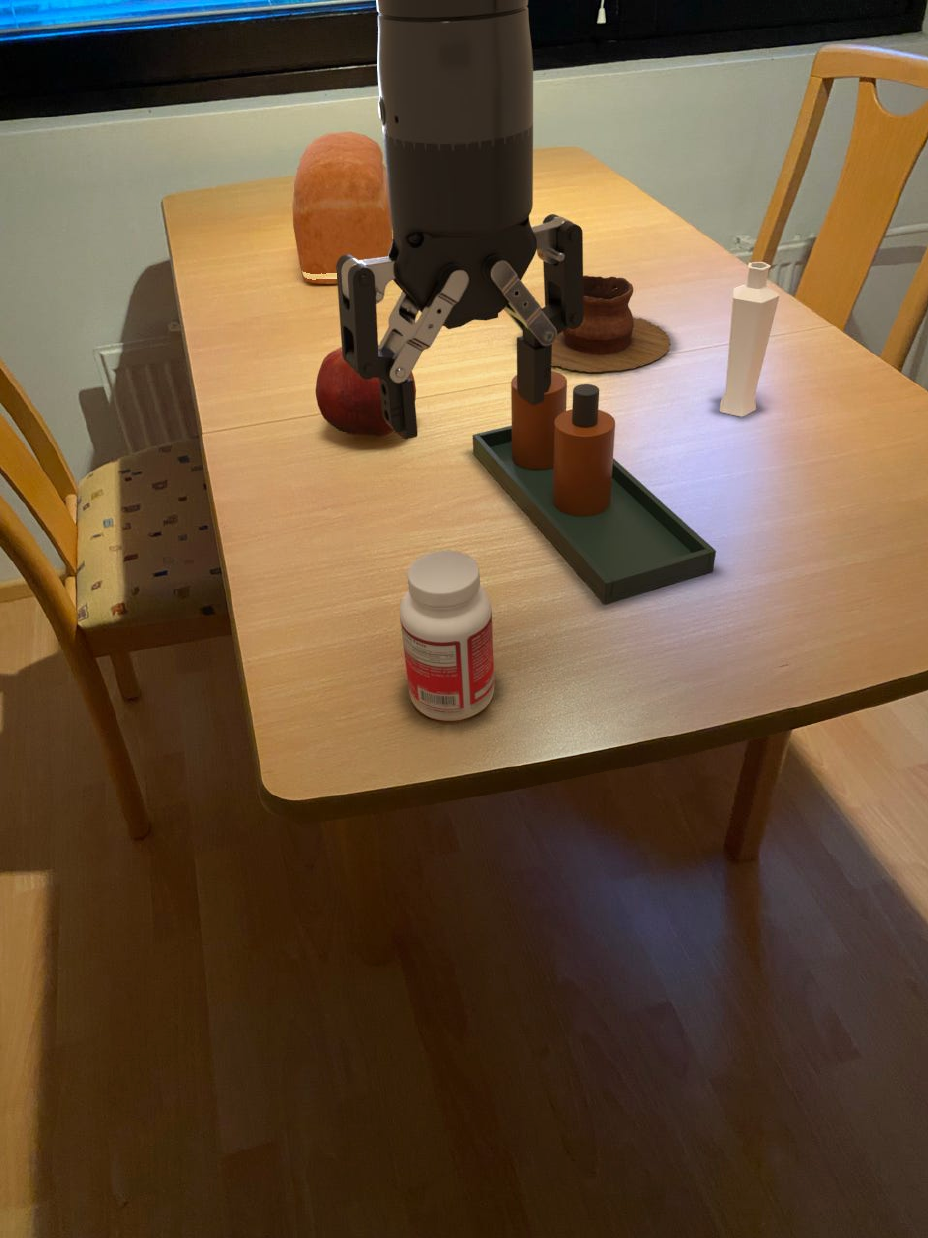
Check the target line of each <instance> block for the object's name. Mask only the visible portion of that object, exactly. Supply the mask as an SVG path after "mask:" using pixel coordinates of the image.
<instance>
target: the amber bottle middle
mask: <svg viewBox="0 0 928 1238" xmlns="http://www.w3.org/2000/svg"><path fill="white" fill-rule="evenodd" d="M599 405H600V388H599V387H598V386H597V385H595V384H592V383H581V384H577V385H575V386H574V387H573V388H572V406H571V407H572V409H568V410H566V411H565V412H563V413H561V414H559V415H558V416H557V417H556V419H555V424H554V473H553V503H554V505H555V507H556V508H557V509H558V510H560V511H561V512H563V513H566V514H569V515H573V516H591V515H596V514H599V513H601V512H603V511H604V510H606V509H607V508H608V506H609V504H610V496H611V481H612V465H613V458H614V451H615V450H614V449H615V436H616V435H615V434H616V419H615V418H614V417H613V416H612V415H611V414H610V413H608V412H606V411H604V410H601V409H599Z"/></svg>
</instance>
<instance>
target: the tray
mask: <svg viewBox="0 0 928 1238" xmlns="http://www.w3.org/2000/svg"><path fill="white" fill-rule="evenodd" d="M472 454H473V456H475V457H476V459H478V461H479V462H480V463H481V464H482V465H483V466H484V467H485V469H486V470H487V471H488V473H490V475H491V476H492V477H493V478H494V479H495V481H497V483H499V485H500V486H501V487H502V488H503V489H504V491H505V492H506V493H507V494H508V496H510V497H511V498H512V500H513V501H514V502H515V503H516V504H517V506H518V507H520V509H521V510H522V511H523V513H524V514H525V515H526V516H527V517H528V518H529V519H530V520H531V522H532V523H533V524H534V525H535V527H537V528H538V530H539V531H540V532H541V533H542V534H543V535H544V536H545V538H546V539H547V540H548V541H549V542H550V544H551V545H552V546H553V547H554V548H555V549H556V550H557V551H558V552H559V554H560V555H561V556H562V557H563V558H564V560H566V562H567V563H568V564H569V565H570V566H571V568H573V570H574V571H575V572H576V573H577V574H578V576H579V577H580V578H581V579H582V580H583V582H585V584H586V585H587V586H588V587H589V588H590V589H591V591H592V592H593V593H594V594H595V595H596V596H597V598H599V600H601V602H602V604H604V605H607V604H610V603H613V602H617V601H619V600H624V599H626V598H629V597H632V596H636V595H639V594H643V593H647V592H649V591H653V590H656V589H660V588H662V587H663V588H664V587H665V586H670V585H672V584H676V583H679V582H682V581H685V580H689V579H692V578H695V577H699V576H702V575H706V574H709V573H712V572H714V568H715V561H716V554H717V550H716V549H715V548H714V547H713V546H711V545H710V544H709V542H707V541H706V540H705V539H704V538H702V536H700V535H699V534H698V533H697V531H695V530H694V529H693V528H692V527H690V526H689V525H688V524H687V523H686V522H685V521H683V519H682V518H681V517H679V516H678V515H677V514H676V513H675V512H674V511H673V510H672V509H671V508H670V507H668V506H667V505H666V504H665V503H664V502H663V501H661V499H659V498H658V496H656V495H655V494H654V493H653V492H652V491H650V490H649V489H648V488H647V487H646V486H645V485H643V483H642V482H641V481H640V480H638V479H637V478H636V477H635V476H634V475H633V474H632V473H631V472H629V470H627V468H625V467H624V466H623V465H622V464H620V463H619V462H618V461H617V460H616V459H615V458H614V457H613V465H612V481H611V496H610V504H609V506H608V508H607V509H606V510H604V511H603V512H601V513H599V514H596V515H591V516H573V515H569V514H566V513H563V512H561V511H560V510H558V509H557V508H556V507H555V505H554V503H553V473H554V468H551V469H546V470H530V469H526V468H523V467H520V466H518V465H517V464H516V463H515V462H514V461H513V459H512V425H509V426H504V427H499V428H494V429H491V430H487V431H483V432H478V433H475V434H472Z"/></svg>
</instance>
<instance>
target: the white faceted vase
mask: <svg viewBox="0 0 928 1238" xmlns="http://www.w3.org/2000/svg"><path fill="white" fill-rule="evenodd" d="M747 267H748V273H747V281H746V283H743V284H742V285H741V284H740V285H739V286H736V287H734V288H733V292H732V303H731V314H730V315H731V317H730V328H729V339H728V340H729V341H728V353H727V364H726V376H725V377H726V379H725V389H724V393H723V395H722V398H721V401H720V404H719V412H720V413H722V414H727V415H732V416H736V417H740V418H741V417H742V418H743V417H746V416H747V415H749V414H751V413H753V412H754V411H756V410H757V406H756V405H757V404H756V403H757V402H756V392H757V388H758V383H759V379H760V376H761V372H762V368H763V365H764V364H763V363H764V360H765V357H766V352H767V348H768V344H769V340H770V336H771V332H772V328H773V325H774V320H775V316H776V312H777V309H778V304H779V301H780V296H781V294H779V293H778V292H777V291H775V290H774V289H772V288H770V287H769V286H767V283H768V276H769V270H770V269H771V267H772V265H771V264H769V263H766V262H764V261H753V262H752V261H751V262H748V265H747Z"/></svg>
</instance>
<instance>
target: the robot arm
mask: <svg viewBox="0 0 928 1238" xmlns="http://www.w3.org/2000/svg"><path fill="white" fill-rule="evenodd" d="M528 5H529V0H376V11H377V12H378V15H377V27H378V28H377V29H378V31H377V33H378V34H377V67H376V68H377V83H378V84H377V85H378V94H379V96H378V102H377V111H378V117H379V120H380V123H381V129H382V131H381V132H382V141H383V142H382V143H383V153H384V166H385V167H386V176H387V188H388V199H389V210H390V219H391V225H392V245H391V248H390V251H389V254H388V256H387V257H381V258H374V259H367V260H358V259H356V258H355V257H354V256H352V255H348V254H347V255H343V256H342V257H340V258H339V260H338V261H337V265H336V270H337V284H336V285H337V296H338V297H337V298H338V311H339V326H340V340H341V347H342V355H343V359H344V360H345V362H346V363H347V364H349V365H350V366H351V367H352V368H353V369H354V370H355V371H356V372H357V373H358V374H359V375H360V376H361V377H362V378H363V379H366V380H369V379H372V378H378V379H379V387H380V397H381V406H382V416H383V418H384V420H385V421H386V423H387V424H388V425H389V426H390V427H391V428H392V429H393V430H394V431H393V432H395V434H398V435H399V436H400V437H401V438H402V439H403V440H405V441H407V440H411V439H414V438H417V437H418V422H417V409H416V399H415V396H414V384H413V380H412V379H411V378H410V377H409V375H410V373H411V372H412V373H413V370H414V368H415V366H416V365H417V363H418V361H419V359H420V357H421V355H422V354H423V352H424V351H426V350H428V349H430V348H431V347H432V346H433V344H434V342H435V340H436V338H437V336H438V334H439V333H440V331H441V329H442V327H445V328H446V329H448V330H452V329H456V328H461V327H463V326H465V325H467V324H468V323H470V322H472V321H491V320H495V319H499V313H501V312H503V311H504V312H505V313H506V314H507V316H509V317H510V319H511V320H512V321H513V322H514V323H515V324H516V326H517V327H518V328H519V329H520V331H521V332H522V335H521V336H518V337H516V375H517V391H518V394H519V396H520V397H521V398H522V399H524V400H525V401H526V402H527V403H529V404H530V405H532V406H533V405H536V404H540V403H543V402H544V393H546V392H548V391H549V388H550V385H551V371H552V365H551V361H552V343H553V342H554V341H555V340H556V337H557V335H558V334H559V333H561V332H562V331H564V330H566V329H567V328H570V329H576V328H578V327H579V326H580V325H581V323H582V322H583V318H584V306H583V276H584V243H583V242H584V237H583V229H582V227H581V226H580V225H578V224H576V223H574V222H573V221H572V220H569V219H567V218H565V217H563V216H559V215H557V214H555V213H550V214H548V215H547V216H545V217H544V218H543V221H542V223H540V224H537V225H533V226H532V225H531V221H530V215H531V213H532V210H533V206H534V204H533V203H534V57H533V48H532V39H531V31H530V30H531V29H530V21H529V7H528ZM536 253H537V257H538V258H539V260H541V261H542V264H543V287H544V289H543V290H544V306H543V307H542V306H541V304H540V303H539V302H538V300H537V299H536V298H535V297H534V295H533V294H532V293H531V291H530V290H529V289H528V288H527V286H526V285H525V284H524V283H523V281H522V280H523V278H524V276H525V274H526V272H527V270H528V269H529V266H530V265H531V263H532V261H533V259H534V258H535V255H536ZM391 281H392V282H394V283H395V284H396V285H397V287H398V288H399V289H400V290H401V294H400V296H399V297H398V299H397V301H396V303H395V305H394V306H393V308H392V311H391V312H390V314H389V316H388V321H387V322H388V327H387V329H386V331H385V333H384V334H383V337H382V339H381V341H380V343H379V334H378V333H379V332H378V316H377V315H378V314H377V312H378V311H377V304H379V303H380V302H382V301H383V300H384V297H385V294H386V293H385V292H386V287H387V285H388V284H389V283H390V282H391ZM419 312H420V316H419V317H418V319H417V320H416V318H417V315H418V313H419ZM378 345H379V346H378Z"/></svg>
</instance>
